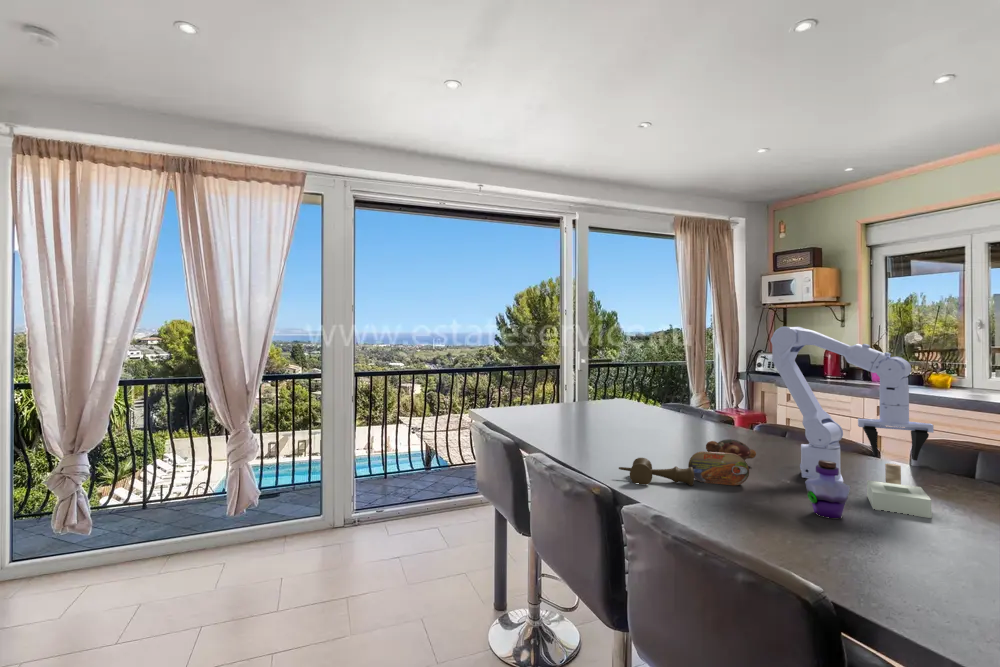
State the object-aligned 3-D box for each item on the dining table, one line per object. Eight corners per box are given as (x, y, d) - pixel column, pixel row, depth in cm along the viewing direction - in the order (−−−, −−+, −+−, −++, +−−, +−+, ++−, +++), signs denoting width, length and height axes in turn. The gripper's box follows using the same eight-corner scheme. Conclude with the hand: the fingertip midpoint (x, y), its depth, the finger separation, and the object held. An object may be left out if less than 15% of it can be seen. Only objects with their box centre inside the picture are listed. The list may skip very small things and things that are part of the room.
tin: (688, 481, 127) (688, 451, 127) (688, 478, 130) (688, 448, 130) (749, 487, 122) (749, 456, 122) (748, 484, 124) (747, 453, 124)
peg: (886, 493, 116) (886, 465, 116) (884, 489, 119) (884, 462, 119) (902, 495, 114) (901, 467, 114) (899, 491, 117) (899, 464, 117)
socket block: (873, 509, 105) (872, 492, 105) (867, 496, 114) (866, 480, 114) (931, 518, 100) (931, 500, 100) (920, 504, 108) (920, 487, 108)
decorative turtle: (698, 462, 146) (698, 437, 146) (743, 460, 148) (742, 435, 148) (716, 471, 136) (716, 444, 136) (763, 469, 138) (763, 442, 138)
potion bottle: (796, 510, 105) (795, 458, 105) (820, 505, 108) (819, 454, 108) (836, 525, 97) (835, 468, 97) (860, 518, 100) (860, 463, 101)
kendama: (695, 493, 119) (616, 483, 126) (692, 482, 128) (619, 474, 135) (695, 470, 120) (616, 461, 126) (693, 461, 129) (620, 453, 135)
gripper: (860, 404, 117) (861, 457, 117) (937, 408, 109) (937, 465, 109) (856, 400, 123) (857, 451, 123) (928, 404, 116) (929, 458, 115)
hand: (894, 457), depth 117 cm, fingers open, 7 cm apart
